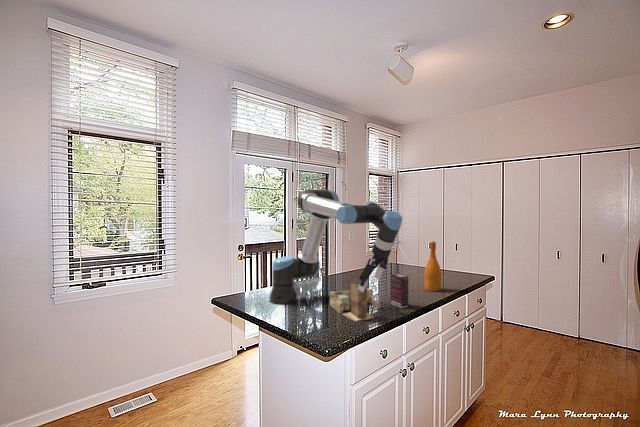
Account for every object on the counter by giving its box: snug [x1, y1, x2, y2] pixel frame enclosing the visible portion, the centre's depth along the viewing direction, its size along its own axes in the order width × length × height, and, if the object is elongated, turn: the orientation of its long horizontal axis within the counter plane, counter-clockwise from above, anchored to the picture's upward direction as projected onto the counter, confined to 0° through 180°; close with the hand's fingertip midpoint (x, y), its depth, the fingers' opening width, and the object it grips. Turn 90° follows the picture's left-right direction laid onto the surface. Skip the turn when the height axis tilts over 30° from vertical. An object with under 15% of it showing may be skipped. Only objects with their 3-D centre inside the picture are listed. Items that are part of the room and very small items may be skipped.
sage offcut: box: [338, 295, 349, 304], centre depth 172 cm, size 4×5×3 cm
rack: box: [329, 288, 381, 314], centre depth 174 cm, size 24×14×7 cm, turn 108°
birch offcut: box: [343, 303, 350, 312], centre depth 172 cm, size 4×7×4 cm, turn 18°
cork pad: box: [341, 311, 376, 322], centre depth 160 cm, size 11×11×1 cm
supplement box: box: [390, 273, 409, 309], centre depth 177 cm, size 9×5×16 cm, turn 29°
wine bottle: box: [423, 241, 442, 292], centre depth 211 cm, size 10×10×30 cm
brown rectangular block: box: [350, 282, 368, 318], centre depth 160 cm, size 4×8×14 cm, turn 18°
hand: (368, 284), depth 153 cm, fingers open, 13 cm apart
